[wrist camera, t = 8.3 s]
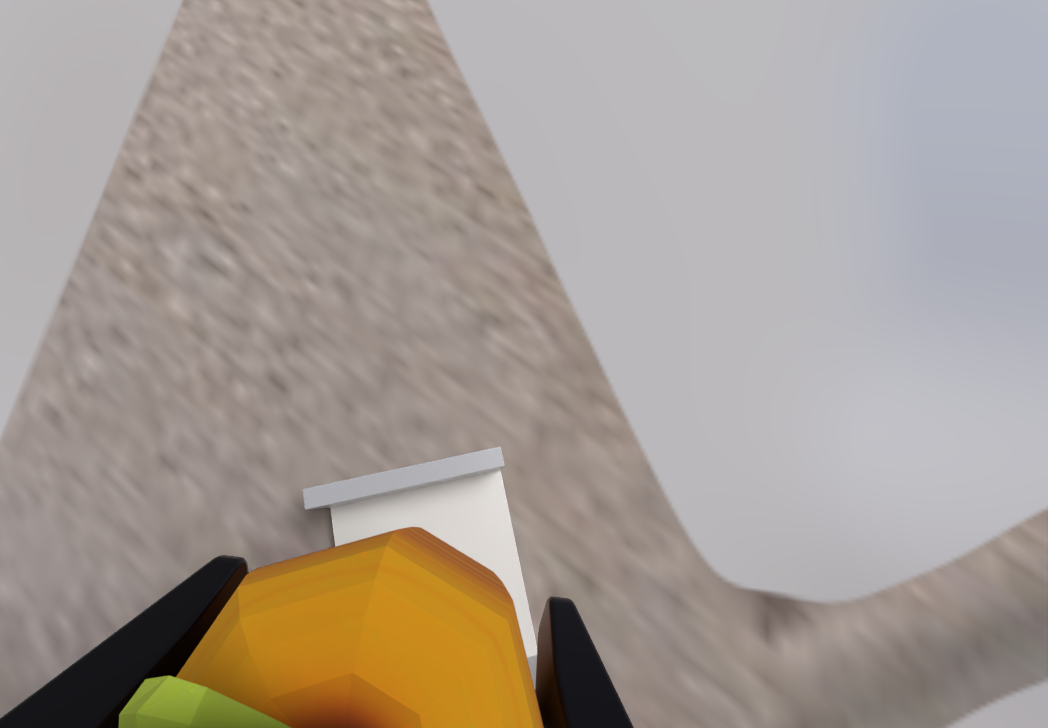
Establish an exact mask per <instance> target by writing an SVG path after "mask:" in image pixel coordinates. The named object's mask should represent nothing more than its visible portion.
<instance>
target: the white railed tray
mask: <svg viewBox="0 0 1048 728" xmlns="http://www.w3.org/2000/svg"><path fill="white" fill-rule="evenodd" d="M504 466H505V465H504V461H503V456H502V451H501V447H496V448H491V449H487V450H482V451H477V452H473V453H468V454H464V455H459V456H454V457H450V458H445V459H440V460H436V461H431V462H426V463H422V464H417V465H412V466H408V467H403V468H399V469H394V470H389V471H385V472H380V473H375V474H371V475H366V476H361V477H357V478H352V479H347V480H343V481H338V482H334V483H329V484H324V485H320V486H315V487H310V488H306V489H303V496H304V504H305V510H307V509H319V508H330V509H331V517H332V525H333V533H334V540H335V547H336V546H339V545H343V544H347V543H350V542H354V541H357V540H361V539H365V538H368V537H372V536H376V535H379V534H383V533H386V532H390V531H394V530H397V529H402V528H407V527H420V528H423V529H424V530H426V531H428V532H429V533H431V534H432V535H434V536H436V537H437V538H439V539H441V540H442V541H444V542H446V543H447V544H449V545H450V546H452V547H454V548H455V549H457V550H459V551H460V552H462V553H464V554H465V555H467V556H469V557H470V558H472V559H473V560H475V561H477V562H478V563H480V564H482V565H483V566H485V567H487V568H488V569H490V570H491V571H493V572H494V573H495V574H496V575H497V576H498V577H499V579H500V580H501V581H502V582H503V584H504V585H505V587H506V589H507V591H508V592H509V594H510V596H511V598H512V599H513V602H514V606H515V611H516V615H517V619H518V623H519V627H520V631H521V635H522V639H523V644H524V648H525V652H526V656H527V660H528V664H529V668H530V672H531V677H532V681H533V685H534V689H535V684H536V665H537V645H536V640H535V635H534V630H533V626H532V621H531V616H530V611H529V606H528V601H527V597H526V592H525V587H524V582H523V577H522V572H521V568H520V563H519V558H518V553H517V548H516V543H515V538H514V534H513V529H512V524H511V519H510V514H509V509H508V505H507V500H506V495H505V490H504V485H503V480H502V476H501V471H500V470H501V469H502V468H503V467H504Z"/></svg>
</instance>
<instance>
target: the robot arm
mask: <svg viewBox="0 0 1048 728" xmlns="http://www.w3.org/2000/svg"><path fill="white" fill-rule="evenodd" d="M247 574H249V572H248V565H247V561H246V560H245V559H244V558H242V557H234V556H226V555H221V556H218V557H216V558H214V559H213V560H211V561H210V562H209V563H207V564H206V565H205V566H203V567H202V568H201V569H199V570H198V571H197V572H195V573H194V574H193V575H191V576H190V577H189V578H187V579H186V580H185V581H183V582H182V583H181V584H179V585H178V586H177V587H175V588H174V589H173V590H171V591H170V592H169V593H167V594H166V595H165V596H163V597H162V598H161V599H159V600H158V601H157V602H155V603H154V604H153V605H151V606H150V607H149V608H147V609H146V610H145V611H143V612H142V613H141V614H139V615H138V616H137V617H135V618H134V619H133V620H131V621H130V622H129V623H127V624H126V625H125V626H123V627H122V628H121V629H119V630H118V631H117V632H115V633H114V634H113V635H111V636H110V637H109V638H107V639H106V640H105V641H103V642H102V643H101V644H99V645H98V646H97V647H95V648H94V649H93V650H91V651H90V652H89V653H87V654H86V655H85V656H83V657H82V658H81V659H79V660H78V661H77V662H75V663H74V664H73V665H71V666H70V667H69V668H67V669H66V670H65V671H63V672H62V673H61V674H59V675H58V676H57V677H55V678H54V679H53V680H51V681H50V682H49V683H47V684H46V685H45V686H43V687H42V688H41V689H39V690H38V691H37V692H35V693H34V694H33V695H31V696H30V697H29V698H27V699H26V700H24V701H23V702H22V703H20V704H19V705H18V706H16V707H15V708H14V709H12V710H11V711H10V712H8V713H7V714H6V715H4V716H3V717H2V718H0V728H119V714H120V713H121V711H122V710H123V709H124V707H125V706H126V705H127V703H128V702H129V701H130V699H131V698H132V697H133V695H134V694H135V693H136V691H137V690H138V688H139V687H140V686H141V684H142V683H143V682H144V680H145V679H149V678H156V677H163V676H172V677H176V676H177V675H178V673H179V672H180V670H181V669H182V668H183V666H184V665H185V663H186V662H187V660H188V659H189V657H190V656H191V654H192V653H193V652H194V650H195V649H196V647H197V646H198V644H199V643H200V641H201V640H202V639H203V637H204V636H205V634H206V633H207V631H208V630H209V628H210V627H211V625H212V624H213V623H214V621H215V620H216V618H217V617H218V615H219V614H220V612H221V611H222V609H223V608H224V607H225V605H226V604H227V602H228V601H229V599H230V598H231V596H232V595H233V594H234V592H235V591H236V589H237V588H238V586H239V585H240V583H241V582H242V581H243V579H244V578H245V576H246V575H247ZM535 693H536V697H537V701H538V705H539V710H540V714H541V718H542V722H543V726H544V728H634V727H633V725H632V723H631V721H630V719H629V717H628V715H627V713H626V711H625V708H624V706H623V704H622V702H621V700H620V698H619V696H618V694H617V692H616V690H615V688H614V686H613V683H612V681H611V679H610V677H609V675H608V673H607V671H606V669H605V667H604V665H603V663H602V660H601V658H600V656H599V654H598V652H597V650H596V648H595V646H594V644H593V642H592V640H591V638H590V635H589V633H588V631H587V629H586V627H585V625H584V623H583V621H582V619H581V617H580V615H579V613H578V610H577V608H576V606H575V604H574V603H573V601H572V600H570V599H568V598H560V597H549V598H548V600H547V602H546V605H545V609H544V612H543V615H542V619H541V622H540V626H539V633H538V646H537V665H536V684H535Z"/></svg>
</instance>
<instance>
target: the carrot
mask: <svg viewBox="0 0 1048 728" xmlns="http://www.w3.org/2000/svg"><path fill="white" fill-rule="evenodd" d="M119 728H544V726H543V722H542V718H541V714H540V710H539V705H538V701H537V697H536V693H535V689H534V685H533V681H532V677H531V672H530V668H529V664H528V660H527V656H526V652H525V648H524V644H523V639H522V635H521V631H520V627H519V623H518V619H517V615H516V611H515V606H514V602H513V599H512V598H511V596H510V594H509V592H508V591H507V589H506V587H505V585H504V584H503V582H502V581H501V580H500V579H499V577H498V576H497V575H496V574H495V573H494V572H493V571H491V570H490V569H488V568H487V567H485V566H483V565H482V564H480V563H478V562H477V561H475V560H473V559H472V558H470V557H469V556H467V555H465V554H464V553H462V552H460V551H459V550H457V549H455V548H454V547H452V546H450V545H449V544H447V543H446V542H444V541H442V540H441V539H439V538H437V537H436V536H434V535H432V534H431V533H429V532H428V531H426V530H424V529H423V528H420V527H407V528H402V529H397V530H394V531H390V532H386V533H383V534H379V535H376V536H372V537H368V538H365V539H361V540H357V541H354V542H350V543H347V544H343V545H339V546H336V547H332V548H329V549H325V550H321V551H318V552H314V553H311V554H307V555H303V556H300V557H296V558H293V559H289V560H285V561H282V562H278V563H274V564H271V565H267V566H264V567H260V568H257V569H255V570H254V571H252V572H250V573H249V574H247V575H246V576H245V578H244V579H243V581H242V582H241V583H240V585H239V586H238V588H237V589H236V591H235V592H234V594H233V595H232V596H231V598H230V599H229V601H228V602H227V604H226V605H225V607H224V608H223V609H222V611H221V612H220V614H219V615H218V617H217V618H216V620H215V621H214V623H213V624H212V625H211V627H210V628H209V630H208V631H207V633H206V634H205V636H204V637H203V639H202V640H201V641H200V643H199V644H198V646H197V647H196V649H195V650H194V652H193V653H192V654H191V656H190V657H189V659H188V660H187V662H186V663H185V665H184V666H183V668H182V669H181V670H180V672H179V673H178V675H177V676H176V677H172V676H163V677H156V678H149V679H145V680H144V682H143V683H142V684H141V686H140V687H139V688H138V690H137V691H136V693H135V694H134V695H133V697H132V698H131V699H130V701H129V702H128V703H127V705H126V706H125V707H124V709H123V710H122V711H121V713H120V714H119Z"/></svg>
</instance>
